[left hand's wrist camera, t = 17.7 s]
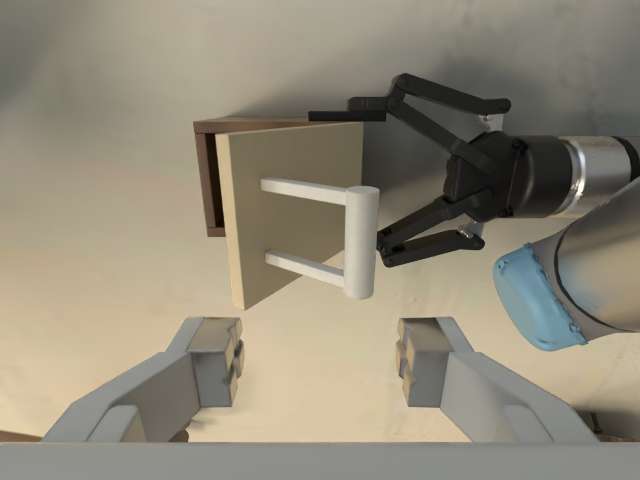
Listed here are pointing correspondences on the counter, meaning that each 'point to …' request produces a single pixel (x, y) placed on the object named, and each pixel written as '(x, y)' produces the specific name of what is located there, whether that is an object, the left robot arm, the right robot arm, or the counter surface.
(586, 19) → the counter surface
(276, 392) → the counter surface
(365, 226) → the lid
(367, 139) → the counter surface
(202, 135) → the chest
